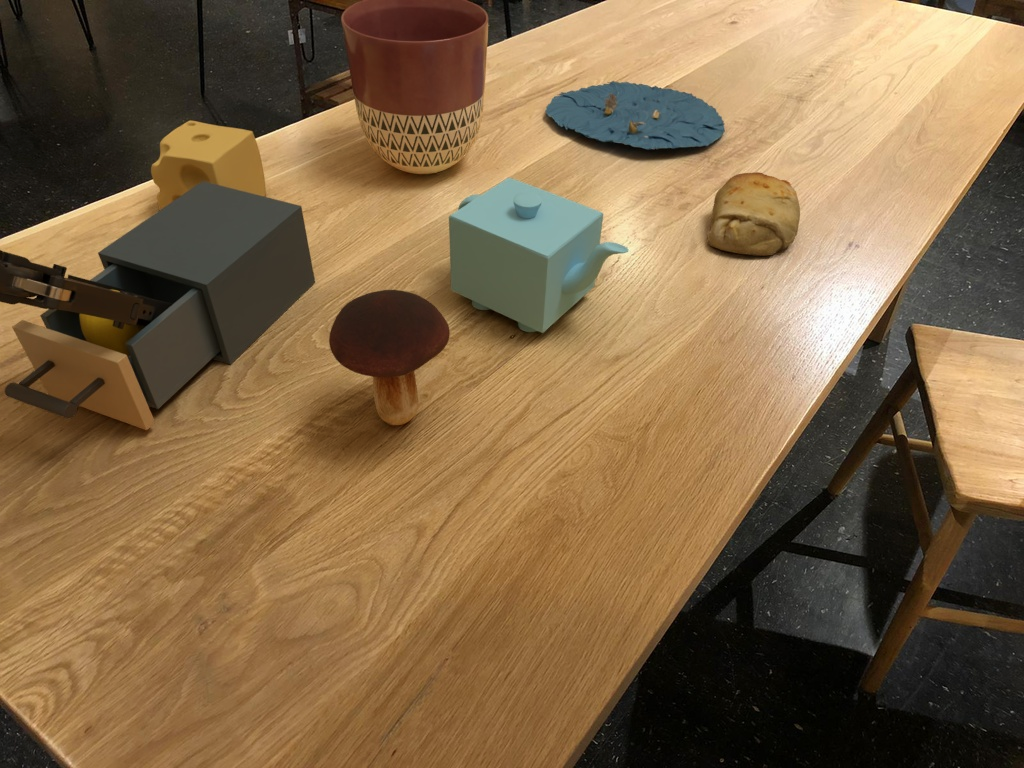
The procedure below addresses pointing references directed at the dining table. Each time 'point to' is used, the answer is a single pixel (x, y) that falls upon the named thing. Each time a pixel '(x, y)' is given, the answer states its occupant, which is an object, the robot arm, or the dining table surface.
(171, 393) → the drawer
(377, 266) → the dining table surface
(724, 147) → the dining table surface
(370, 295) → the decorative mushroom
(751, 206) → the pastry
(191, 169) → the cheese
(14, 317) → the dining table surface
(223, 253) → the cabinet
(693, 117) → the decorative plate
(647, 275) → the dining table surface
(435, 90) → the planter
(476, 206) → the teapot
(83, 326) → the lemon
